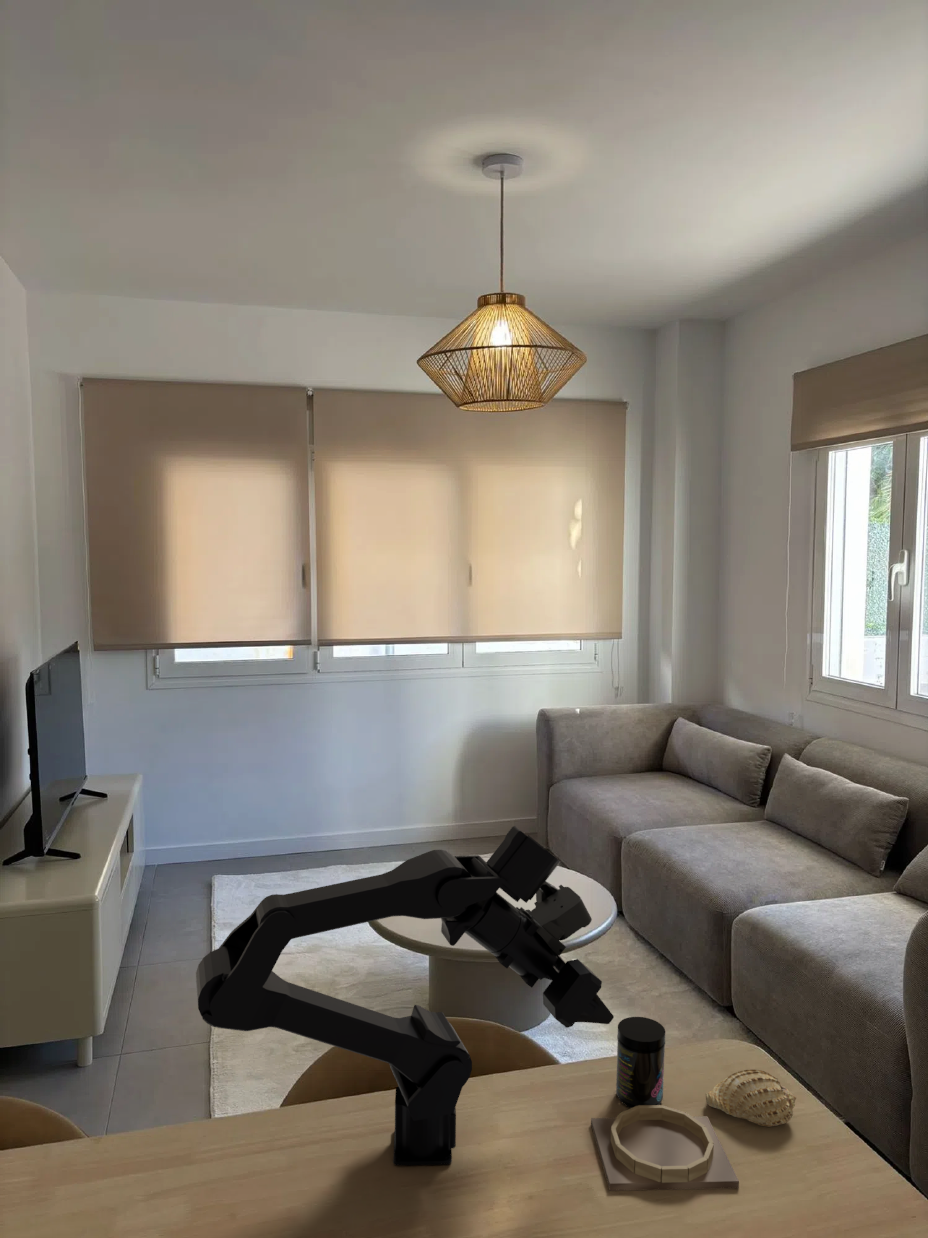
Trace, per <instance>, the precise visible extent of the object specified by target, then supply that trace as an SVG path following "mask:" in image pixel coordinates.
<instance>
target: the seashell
mask: <svg viewBox="0 0 928 1238" xmlns="http://www.w3.org/2000/svg"><path fill="white" fill-rule="evenodd" d="M796 1100H797V1097H796V1096H795V1095H794V1094H793V1093H792V1092H790V1091H789V1088H786V1087H785V1086H784V1085H782V1084H781V1081H779V1078H778V1077H777V1078H776V1077H775V1076H774V1075H772V1074H770V1073H769V1072H767V1071H764V1070H759V1069H745V1070H740V1071H737V1072H734V1073H732V1074H730V1075H727V1077H726V1078H725V1079H722V1081H720V1082H718V1083H717V1084H715V1085H714V1087H713V1088H712V1090H710V1091H708V1092H707V1093H705V1103H706V1105H708V1107H709V1106H710V1107H711V1108H715V1109H718V1110H721V1111H722V1112H724V1113H725V1114H726V1115H731V1116H732V1117H733V1118H734V1117H735V1118H737V1119H738V1118H739V1119H742V1120H744V1119H745V1120H747V1121H749V1122H751V1123H754V1124H756V1125H758V1126H762V1127H776V1126H779V1125H784V1124H786V1123H788V1122H789V1121H791V1119H792V1118H793V1115H794V1111H793V1109H794V1108H795V1106H796V1104H795V1103H796Z"/></svg>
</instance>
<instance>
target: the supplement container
mask: <svg viewBox="0 0 928 1238" xmlns="http://www.w3.org/2000/svg"><path fill="white" fill-rule="evenodd" d="M616 1038H617V1044H616V1045H617V1049H616V1050H617V1055H616V1084H615V1086H616V1087H615V1089H616V1090H615V1093H616V1095H617V1098H618V1099H619V1101H620V1102H621V1103H622V1104H623V1105H624V1106H626V1107H627V1108H629V1109H631V1108H633V1107H635V1106H638V1105H661V1103H662V1101H663V1100H664V1080H665V1079H664V1078H665V1077H664V1075H665V1053H666V1051H665V1050H666V1049H665V1046H666V1029H665V1027H664V1026H663V1024H661V1023H660V1022H658V1021H657V1020H655V1019H652V1018H649V1017H645V1016H644V1017H643V1016H631V1017H626V1018H623V1019H622V1020H620V1021H619V1022H618V1024H617V1035H616Z"/></svg>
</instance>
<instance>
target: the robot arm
mask: <svg viewBox="0 0 928 1238" xmlns="http://www.w3.org/2000/svg"><path fill="white" fill-rule="evenodd" d="M560 863H561V861H560V859H558V858H557V857H555V856H554V855H553V854H552V853H551V852H550V851H548V849H546V848H545V847H544V846H542V845H541V844H540V843H539V842H538V841H536V840H535V839H534V838H533V837H532V836H530V835H529V834H528V835H527V834H525V833H524V832H523V831H522V830H520V828H519V827H517V826H516V825H514V826H512V827H511V828H510V829H509V831H508V832H507V834H506V835H505V837H504V839H503V841H502V842H501V843H500V844H499V846H498V847H497V848H496V849H495V850H494V852H493V853H492V855H491V856H490V857H489V858H488V860H487V861H486V860H485V859H484V858H482V856H481V855H478V854H475V855H474V854H472V855H471V854H470V855H453V854H452V853H450V852H449V851H447V850H443V849H433V850H429V851H427V852H425V853H421V854H418V855H415V856H414V857H411V858H409V859H407V860H405V861H403V862H402V863H400V864H399V865H398V866H396V867H395V868H393V869H391V870H390V871H386V872H384V873H381V874H377V875H372V876H367V877H362V878H357V879H354V880H352V879H351V880H347V881H344V882H343V881H342V882H338V883H334V884H328V885H323V886H320V887H314V888H310V889H305V890H300V891H296V892H291V893H290V892H289V893H286V894H277V893H276V894H275V893H274V894H270V895H267V896H266V897H265V898H263V899H262V900H261V901H260V902H259V904H258V905H257V906H256V908H255V909H254V910H253V912H251V914H250V915H249V916H247V917H246V919H244V920H243V921H241V923H239V924H238V925H237V926H236V927H234V929H232V930H231V932H230V933H229V934H228V936H227V937H226V938H225V940H224V941H223V942H222V943H221V944H220V946H219V947H218V948H217V949H214V950H212V951H210V952H209V953H207V954H206V955H204V957H203V958H202V959H201V961H200V962H199V963H198V965H197V967H196V970H195V983H196V997H197V1008H198V1011H199V1014H200V1016H201V1019H202V1020H203V1021H204V1022H205V1023H206V1024H207V1025H209V1026H211V1027H213V1028H217V1029H223V1030H224V1029H225V1030H233V1031H242V1032H251V1031H257V1030H262V1029H267V1028H268V1029H269V1028H275V1029H279V1030H282V1031H285V1032H289V1033H291V1034H295V1035H298V1036H301V1037H304V1038H308V1039H310V1040H314V1041H318V1042H320V1043H323V1044H326V1045H330V1046H332V1047H336V1048H338V1049H339V1048H340V1049H341V1050H346V1051H349V1052H352V1053H354V1054H359V1055H360V1056H365V1057H366V1058H371V1059H373V1060H376V1061H377V1060H378V1061H380V1062H384V1063H387V1064H389V1067H390V1070H391V1072H392V1075H393V1077H394V1079H395V1081H396V1083H397V1086H396V1087H395V1094H394V1095H395V1099H394V1137H393V1155H392V1163H393V1165H394V1166H432V1165H434V1166H435V1165H437V1166H438V1165H439V1166H440V1165H442V1166H443V1165H450V1164H451V1163H452V1161H453V1160H452V1158H453V1157H452V1156H453V1155H452V1154H453V1153H452V1149H455V1147H456V1143H457V1142H456V1140H457V1138H456V1136H457V1109H456V1107H457V1103H458V1100H459V1098H460V1095H461V1093H462V1090H463V1087H464V1086H465V1085H466V1083H467V1081H469V1079H470V1078H471V1074H472V1070H473V1061H472V1057H471V1055H470V1053H469V1052H468V1050H467V1048H466V1046H465V1045H464V1042H463V1041H462V1040H461V1038H460V1037H459V1035H458V1033H457V1031H456V1030H455V1028H454V1027H453V1025H452V1023H450V1021H448V1018H447V1017H446V1015H445V1014H444V1012H443V1011H438V1012H435V1011H430V1010H428V1009H426V1008H424V1007H423V1006H421V1005H418V1004H414V1005H413V1009H412V1011H411V1015H408V1016H402V1017H394V1016H390V1015H388V1014H384V1013H381V1012H378V1011H375V1010H373V1009H370V1008H366V1007H363V1006H360V1005H358V1004H354V1003H351V1002H349V1001H346V1000H342V999H339V998H337V997H335V996H334V997H333V996H331V995H328V994H326V993H322V992H319V991H316V990H312V989H310V988H307V987H304V986H301V985H299V984H295V983H292V982H289V981H286V979H285V980H284V979H283V978H281V977H280V976H279V975H278V974H276V972H274V971H273V969H274V967H275V965H276V963H277V962H278V959H280V958H279V957H280V956H281V955H282V952H283V950H285V948H286V947H287V945H288V944H289V943H290V942H291V940H293V939H297V938H303V937H307V936H311V935H315V934H321V933H324V932H330V931H334V930H338V929H342V928H343V929H344V928H346V927H351V926H356V925H360V924H365V923H369V922H374V921H379V920H383V919H387V918H391V917H408V918H415V919H421V920H432V919H433V920H434V919H441V930H440V932H441V934H442V935H443V937H444V938H445V939H446V941H447V943H448V944H449V946H453V947H454V946H456V944H457V943H458V942H459V941H460V939H461V938H462V936H463V935H464V934H465V935H467V936H469V938H471V939H472V940H474V941H475V942H476V943H478V945H480V946H482V947H483V948H484V949H485V950H487V951H488V952H489V953H490V954H492V955H493V956H494V957H495V958H496V960H497V961H498V962H499V963H500V965H501V966H503V967H504V968H505V969H508V968H510V969H511V970H512V971H513V972H515V973H516V974H518V975H519V977H520V979H522V980H523V981H524V983H525V984H526V985H527V986H529V987H530V988H533V987H534V986H535V984H536V983H537V982H538V981H539V980H543V979H546V980H549V981H551V982H550V983H549V984H548V986H547V987H546V988H545V989H544V990H543V992H542V1005H543V1006H544V1007H545V1008H546V1009H547V1011H548V1012H549V1013H550V1014H551V1015H552V1017H553V1018H554V1019H555V1020H556V1021H557V1022H559V1023H560V1024H561V1025H562V1026H564V1027H565V1028H567V1029H568V1028H571V1027H573V1026H574V1024H576V1023H589V1024H590V1023H591V1024H601V1025H609V1024H610V1023H612V1020H613V1019H614V1016H615V1015H614V1014H613V1013H612V1012H611V1011H610V1009H609V1007H607V1006H606V1004H605V1003H604V1002H603V1000H602V999H601V997H600V996H599V995H598V993H599V991H600V990H601V988H602V985H603V984H602V983H603V981H602V980H601V979H600V978H599V977H598V976H597V974H595V973H594V971H593V970H591V969H590V968H589V967H588V966H586V964H585V963H584V962H582V961H581V960H579V959H578V958H576V959H570V960H567V961H565V960H564V959H563V958H562V956H561V955H562V953H563V952H564V951H565V950H566V948H567V946H566V945H565V944H564V943H563V942H562V941H565V940H567V939H568V938H570V937H571V936H573V935H574V934H575V933H576V932H578V931H580V930H581V929H582V928H586V927H588V926H589V925H590V924H591V923H592V920H593V919H592V916H591V915H590V913H589V911H588V909H587V907H586V905H585V903H584V901H583V899H582V897H581V896H580V895H579V894H578V893H576V891H574V890H573V889H572V888H571V887H569V886H564V885H562V884H560V885H558V888H559V889H558V888H557V887H556V886H555V885H552V884H551V883H550V882H548V881H547V880H548V879H549V877H550V876H551V875H552V873H553V872H554V871H555V870H556V868H557V867H558V866H559V864H560ZM499 889H501V890H502V891H503V892H504V893H505V894H507V896H509V897H510V898H511V899H513V900H514V901H515V902H517V903H518V902H519V901H520V900H521V901H523V902H524V903H528V901H529V900H530V901H531V900H532V899H533V898H534V896H535V899H536V901H535V902H534V905H535V907H534V908H533V909H532V910H530V909H524V908H523V907H522V906H521V907H520V908H519V907H518V906H516V907H515V906H514V904H512V903H511V902H509V901H508V900H507V899H505V898H504V897H503V896H502V895H500V893H498V892H497V891H498V890H499Z"/></svg>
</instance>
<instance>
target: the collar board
mask: <svg viewBox="0 0 928 1238" xmlns="http://www.w3.org/2000/svg"><path fill="white" fill-rule="evenodd" d="M590 1126H591V1129H592V1132H593V1137H594V1141H595V1144H596V1147H597V1150H598V1154H599V1158H600V1161H601V1165H602V1168H603V1172H604V1176H605V1180H606V1182H607V1186H608V1189H609V1191H613V1192H614V1191H654V1190H655V1191H657V1190H660V1191H664V1190H665V1191H666V1190H667V1191H668V1190H705V1189H706V1190H708V1189H709V1190H711V1189H713V1190H714V1189H715V1190H716V1189H740V1180H739V1178H738V1176H737V1174H736V1172H735V1170H734V1168H733V1166H732V1164H731V1162H730V1160H729V1158H728V1155H727V1154H726V1151H725V1150H724V1148H723V1144H721V1142H720V1139H719V1137H718V1135H717V1133H716V1130H714V1127H713V1125H712V1123H711V1121H710V1118H709V1117H708V1116H707V1115H705V1116H700V1115H699V1116H696V1115H695V1116H692V1115H691V1114H689V1113H688V1112H687V1111H684V1110H683V1111H682V1110H679V1109H676V1108H673V1107H670V1106H666V1105H663V1104H660V1105H638V1106H635V1107H633V1108H629V1109H626V1110H623V1111H622V1112H620V1113H618V1114H617V1115H616V1117H591V1118H590Z"/></svg>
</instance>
